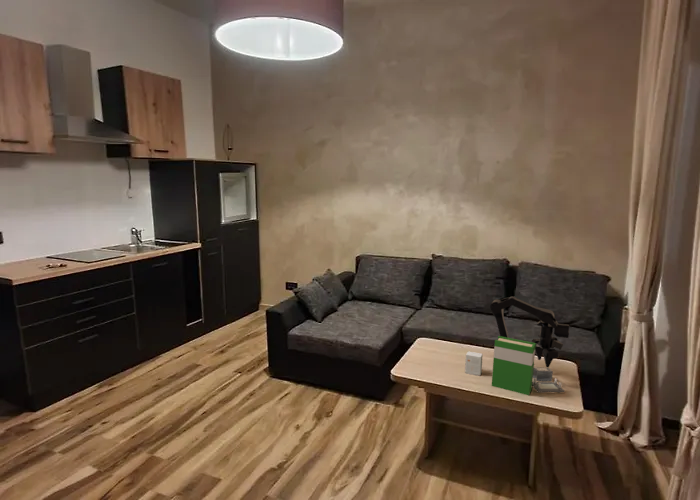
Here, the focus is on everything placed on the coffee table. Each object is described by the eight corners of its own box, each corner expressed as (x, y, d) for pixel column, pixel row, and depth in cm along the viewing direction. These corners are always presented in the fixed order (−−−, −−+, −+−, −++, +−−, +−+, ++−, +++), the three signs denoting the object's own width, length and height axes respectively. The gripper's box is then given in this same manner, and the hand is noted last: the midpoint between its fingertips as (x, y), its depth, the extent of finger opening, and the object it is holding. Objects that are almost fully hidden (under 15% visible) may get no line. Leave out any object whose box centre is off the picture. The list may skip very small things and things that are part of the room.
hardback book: (491, 385, 218) (494, 340, 214) (495, 380, 224) (498, 335, 220) (528, 395, 209) (533, 347, 205) (531, 389, 215) (535, 343, 211)
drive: (536, 381, 224) (537, 371, 223) (532, 377, 229) (533, 367, 228) (552, 381, 224) (553, 371, 223) (548, 377, 229) (549, 367, 228)
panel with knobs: (538, 392, 212) (538, 384, 211) (530, 383, 221) (530, 376, 220) (564, 392, 212) (565, 385, 212) (555, 384, 221) (556, 376, 220)
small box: (481, 372, 234) (483, 353, 232) (480, 376, 229) (481, 357, 227) (466, 369, 237) (467, 350, 235) (464, 373, 232) (465, 354, 230)
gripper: (571, 341, 214) (567, 371, 216) (553, 328, 232) (550, 356, 234) (548, 341, 213) (545, 371, 216) (532, 328, 232) (529, 356, 234)
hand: (543, 363), depth 225 cm, fingers open, 9 cm apart
